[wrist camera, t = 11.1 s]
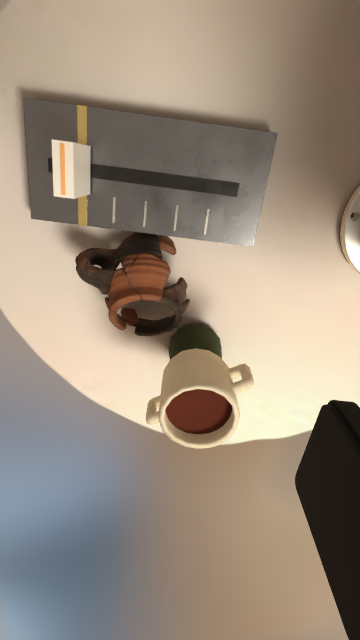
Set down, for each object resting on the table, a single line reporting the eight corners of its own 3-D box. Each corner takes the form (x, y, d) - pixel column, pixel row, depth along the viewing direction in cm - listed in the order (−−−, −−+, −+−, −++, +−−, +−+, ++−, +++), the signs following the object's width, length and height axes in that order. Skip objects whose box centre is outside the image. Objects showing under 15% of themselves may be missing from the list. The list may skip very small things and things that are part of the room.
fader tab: (90, 146, 29) (72, 142, 24) (90, 194, 31) (73, 198, 26) (72, 143, 29) (51, 139, 24) (72, 191, 31) (53, 196, 26)
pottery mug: (202, 242, 36) (208, 302, 31) (166, 293, 42) (166, 349, 38) (90, 202, 31) (77, 266, 26) (70, 266, 38) (58, 326, 33)
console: (272, 135, 31) (277, 132, 29) (249, 242, 35) (253, 246, 33) (33, 101, 30) (22, 97, 28) (39, 215, 34) (30, 218, 32)
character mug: (167, 382, 43) (161, 465, 31) (141, 338, 40) (123, 410, 28) (247, 351, 40) (273, 427, 29) (225, 302, 38) (243, 364, 26)
